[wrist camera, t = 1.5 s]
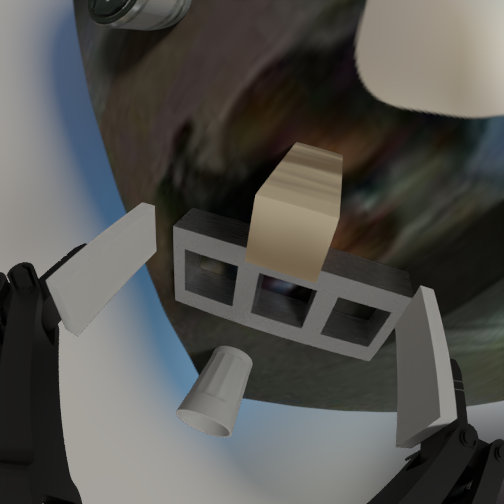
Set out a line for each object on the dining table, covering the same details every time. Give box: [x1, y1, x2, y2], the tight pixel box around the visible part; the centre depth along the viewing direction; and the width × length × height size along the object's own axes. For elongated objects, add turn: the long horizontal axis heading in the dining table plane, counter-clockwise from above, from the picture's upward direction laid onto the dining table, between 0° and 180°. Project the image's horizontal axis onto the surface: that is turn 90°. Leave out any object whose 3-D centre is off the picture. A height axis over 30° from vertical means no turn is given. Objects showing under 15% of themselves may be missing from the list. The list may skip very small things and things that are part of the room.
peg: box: [245, 142, 343, 283], centre depth 19 cm, size 4×4×12 cm
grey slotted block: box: [173, 208, 413, 361], centre depth 29 cm, size 10×23×4 cm, turn 81°
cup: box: [176, 346, 252, 437], centre depth 38 cm, size 8×8×12 cm
